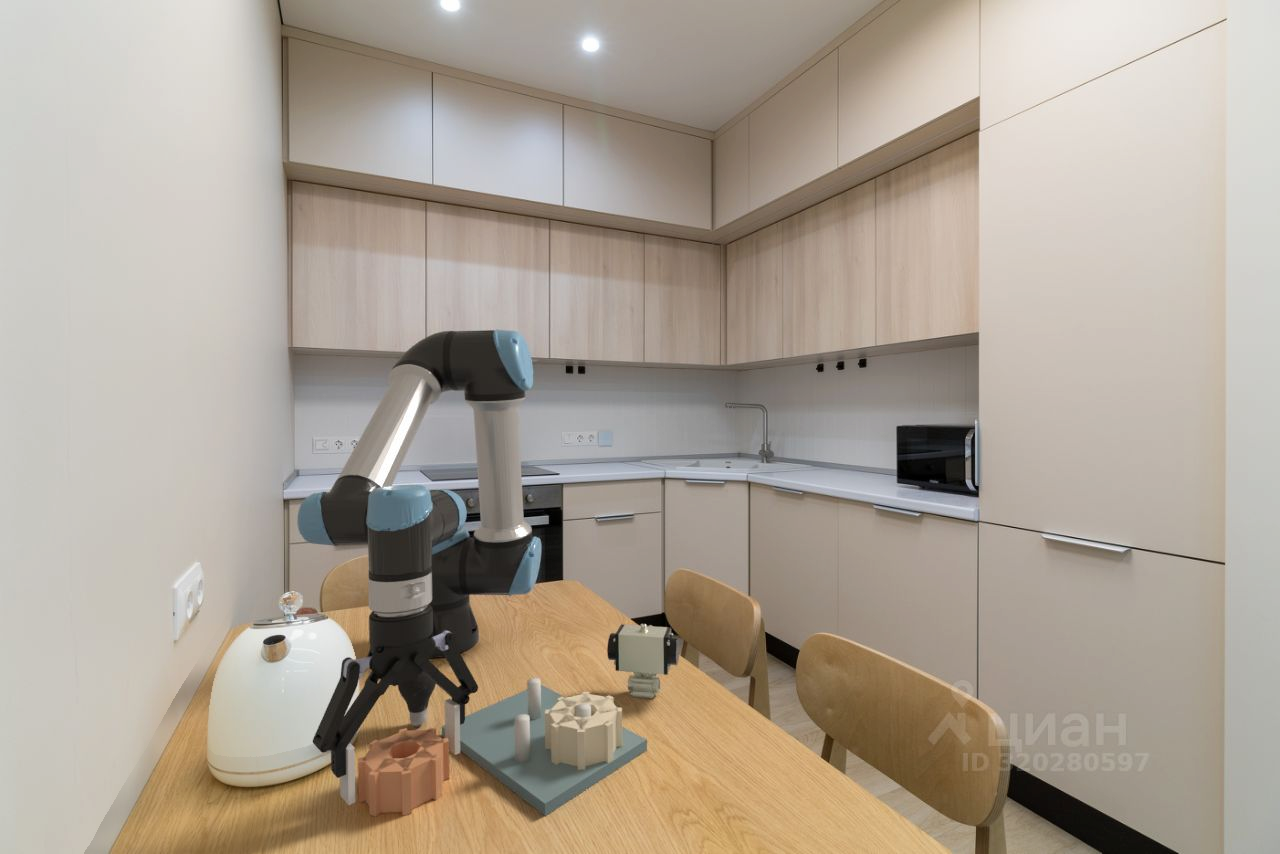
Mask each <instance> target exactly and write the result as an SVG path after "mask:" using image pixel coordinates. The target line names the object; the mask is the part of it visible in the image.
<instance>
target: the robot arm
mask: <svg viewBox="0 0 1280 854" xmlns="http://www.w3.org/2000/svg"><path fill="white" fill-rule="evenodd" d="M531 355H532V354H531V351H530V348H529V345H528V344H527V340H526V338H524V336H523V335H522V334H521V333H520V332H518V331H515V330H507V329H506V330H504V329H498V328H497V329H493V330H492V329H489V330H488V329H487V330H443V331H438V332H435V333H433V334H431V335H428V336H426V337H424V338H422V339H420V340H419V341H418V342H417V343H415V344H414V345H412V346H411V347H410V348H409V349H407V350H406V351H405V352H404V353H403V354H402V355H401V356H400V357H399V358H398V359H397V361H396V363H394V365H393V366H392V369H391V370H390V372H389V374H388V377H387V383H388V388H387V389H386V392H385V393H384V394H383V396H382V398H381V399H380V402H379V404H378V405H377V408H376V409H375V411H374V413H373V415H372V417H371V418H370V420H369V421H368V423H367V425H366V427H365V429H364V431H363V432H362V434H361V436H360V438H359V440H358V441H357V443H356V445H355V447H354V449H353V451H352V452H351V453H350V456H349V458H348V459H347V461H346V463H345V464H344V466H343V468H342V470H341V472H340V473H339V475H338V477H337V479H336V481H335V482H334V483H333V485H332V487H331V489H330V490H329V492H328V491H320V492H315V493H312V494H310V495H309V496H308V497H307V496H306V497H305V498H304V499H303V501H302V502H301V504H300V506H299V509H298V511H297V512H298V513H297V517H296V518H297V522H296V523H297V529H298V532H299V534H300V535H301V537H302V538H303V539H304V541H306V542H307V543H309V544H314V545H323V546H324V545H325V546H334V547H337V546H349V545H350V546H351V545H352V546H356V545H357V546H358V545H359V546H361V545H367V550H368V551H367V552H368V609H369V610H371V612H370V614H369V615H368V635H369V636H368V637H369V638H368V639H369V640H368V641H369V650H368V654H367V656H366V657H360V658H357V659H353V658H352V657H350V656H349V657H345V658H344V659H342V662H341V668H340V678H339V680H338V682H337V683H336V684H337V685H336V687H335V689H334V691H333V693H332V695H331V698H330V701H329V702H328V704H327V707H326V709H325V711H324V713H323V716H322V719H321V721H320V722H319V724H318V727H317V730H316V732H315V733H314V737H312V738H313V739H312V743H313V745H314V746H315V747H316V748H317V749H318V751H319V752H321V753H327V752H328V751H330V768H331V773H333V775H334V776H335V777H336V779H339V796H340V797H341V798H342V799H343V800H344V802H345V803H346V804H347V805H348V806H351V805H352V804H354V803H356V770H355V769H356V761H355V760H356V755H355V754H356V753H355V749H356V748H355V746H354V745H353V744H352V743H351V742H352V740H353V738H354V736H355V735H356V734H357V732H358V730H359V729H360V728H361V726H362V724H363V723H364V721H365V720H366V718H367V717H368V715H369V714H370V712H371V711H372V709H373V707H374V706H375V704H376V703H377V702H378V700H379V698H380V697H381V696H383V695H384V694H385V693H386V692H387V691H388V688H389V687H390V686H393V687H397V686H398V685H399V684H401V683H403V682H404V681H407V680H414V679H417V678H418V676H419V675H420V674H421V673H422V672H423V673H424V674H425V675H427V676H428V677H429V678H430V679H431V680H432V681H434V682H435V683H436V685H437V686H438V687H439V688H441V689H442V690H443V691H444V692H445V693H446V694H447V695H448V696H450V697H451V698H446V699H445V700H444V725H445V738H448V741H449V752H451V753H452V754H453V755H455V756H456V755H459V754H460V753H461V751H460V725H461V724H464V721H465V716H466V705H468V703H469V702H470V700H471V699H470V698H471V697H470V695H471V694H475V693H477V692H478V690H479V684H477V681H476V680H475V678H474V675H473V674H472V673H471V671H470V669H469V667H468V666H467V664H466V662H465V660H464V657H463V656H462V654H461V653H463V652H465V651H467V650H469V649H471V648H473V647H474V646H475V645H476V644H477V643H478V642H479V639H480V631H479V626H478V623H477V620H476V618H475V617H476V616H475V615H474V612H473V609H472V607H471V603H470V602H471V601H470V596H472V595H473V596H509V597H511V596H516V595H517V596H518V595H527V594H529V593H530V592H531V591H532V590H533V589H534V587H535V585H536V582H537V578H538V575H539V571H540V565H541V559H542V541H541V539H540V537H537V536H533V530H532V526H531V525H530V524H529V523H527V522H526V521H525V520H524V518H525V517H524V501H523V500H524V499H523V483H522V482H523V481H522V461H521V459H522V458H521V438H520V425H519V424H520V422H519V421H520V420H519V418H520V417H519V406H520V405H521V403H522V402H523V401H524V400H526V392H527V391H528V390H531V388H533V384H534V367H533V361H532V356H531ZM448 391H459V392H460V391H463V393H464V402H466V404H468V405H469V407H471V408H472V409H473V421H474V422H473V424H474V435H475V450H476V451H475V453H476V467H477V483H478V485H477V486H478V497H479V498H478V499H479V500H478V501H479V510H480V511H479V512H480V513H479V515H480V525H479V526H478V527H477V528H476V530H475V531H474V532H473V537H470V533H469V531H468V530H467V529H465V528H464V529H463V527H464V525H465V523H466V520H467V511H468V510H467V507H466V504H465V501H464V500H463V498H462V497H461V496H460V495H459V494H457V493H456V492H454V491H452V490H451V489H450V490H449V489H443V488H442V489H432V490H430V489H429V488H428V487H427V486H426V485H421V484H400V485H399V484H398V485H393V484H394V482H395V479H396V477H397V475H398V473H399V470H400V468H401V466H402V465H403V462H404V459H405V457H406V455H407V454H408V451H409V449H410V447H411V445H412V443H413V441H414V439H415V436H416V434H417V432H418V430H419V428H420V426H421V423H422V421H423V419H424V417H425V414H426V412H427V411H428V409H429V407H430V405H433V404H434V403H436V402H438V401H437V400H439V398H440V396H441V394H442V393H444V392H448ZM443 657H445V659H446V662H447V663H448V665H449V667H450V668H451V670H452V672H453V674H454V676H455V677H456V679H457V680H458V682H459V684H460V685H459V686H458V685H457V684H455V683H454V682H453V681H451V680H450V679H449V678H448V677H447V676H446V675H445V674H444V673H443V672H442V671H440V670H439V668H438V667H437V666H435V664H433V663H432V662H431V661H430V659H435V658H443ZM367 669H369V670H370V671H371V672H370V673H369V675H368V676H367V678H366V680H365V682H364V686H363V687H362V689H361V691H360V692H359V693H358V695H357V697H355V699H354V701H353V703H351V701H352V699H353V697H354V694H355V692H356V689H357V687H358V683H359V680H360V679H361V678H363V676H364V672H365V671H366V670H367ZM350 704H351V705H350ZM349 706H350V707H349Z"/></svg>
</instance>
